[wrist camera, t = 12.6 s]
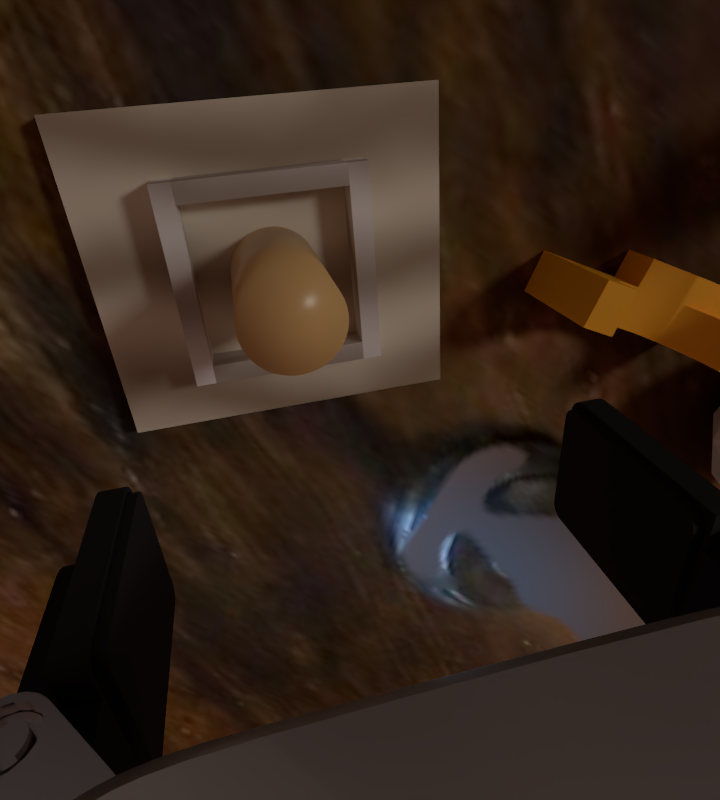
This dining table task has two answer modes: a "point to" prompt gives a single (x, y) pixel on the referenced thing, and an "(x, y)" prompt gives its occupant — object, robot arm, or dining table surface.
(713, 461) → the geodesic sphere
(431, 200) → the grey square framed plate
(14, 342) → the dining table surface
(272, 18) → the dining table surface
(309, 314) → the tan rounded oblong piece
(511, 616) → the dining table surface
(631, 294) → the orange blocky piece
